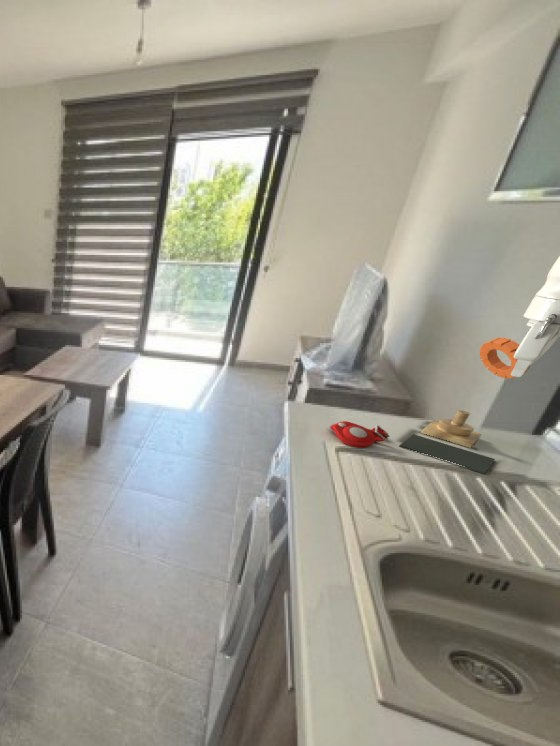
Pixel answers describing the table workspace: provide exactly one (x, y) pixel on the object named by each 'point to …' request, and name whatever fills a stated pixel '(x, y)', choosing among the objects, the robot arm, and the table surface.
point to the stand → (454, 430)
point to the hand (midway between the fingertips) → (518, 373)
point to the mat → (448, 453)
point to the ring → (492, 359)
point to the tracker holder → (358, 434)
